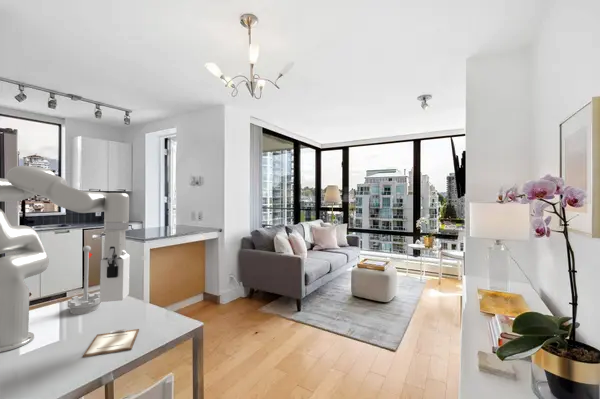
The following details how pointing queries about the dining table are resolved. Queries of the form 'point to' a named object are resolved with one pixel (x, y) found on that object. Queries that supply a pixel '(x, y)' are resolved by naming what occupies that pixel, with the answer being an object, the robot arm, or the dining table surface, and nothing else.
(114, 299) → the milk carton
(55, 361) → the dining table surface
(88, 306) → the flag stand
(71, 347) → the dining table surface
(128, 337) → the clipboard
